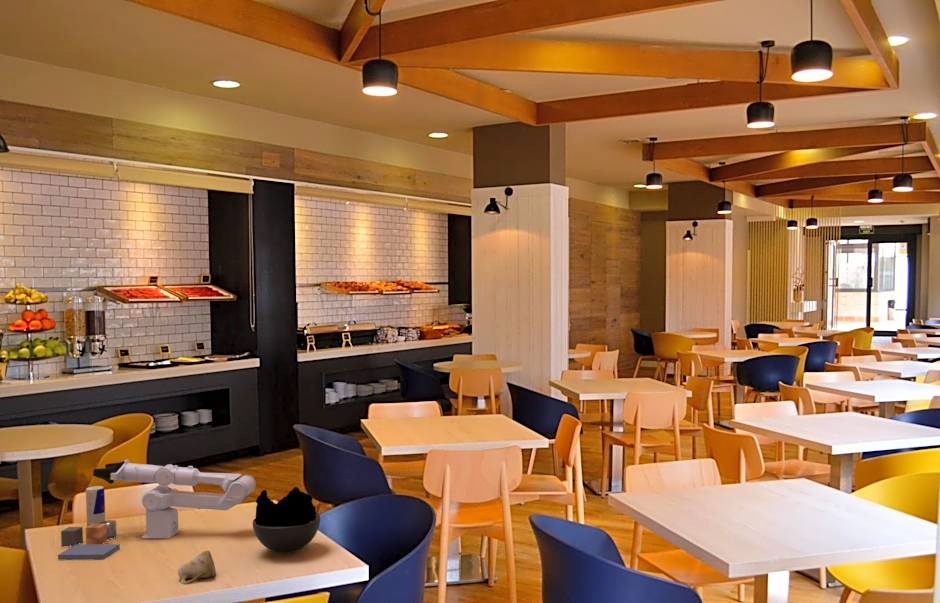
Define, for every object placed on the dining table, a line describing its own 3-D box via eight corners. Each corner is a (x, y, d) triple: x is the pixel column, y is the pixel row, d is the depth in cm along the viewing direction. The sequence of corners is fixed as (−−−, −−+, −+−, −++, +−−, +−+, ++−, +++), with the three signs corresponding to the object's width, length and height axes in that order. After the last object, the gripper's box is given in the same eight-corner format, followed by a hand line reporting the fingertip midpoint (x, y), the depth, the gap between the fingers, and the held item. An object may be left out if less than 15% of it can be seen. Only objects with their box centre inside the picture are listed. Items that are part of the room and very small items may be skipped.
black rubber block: (83, 542, 262) (82, 526, 262) (75, 546, 257) (74, 531, 257) (69, 542, 262) (68, 527, 262) (61, 546, 257) (61, 531, 257)
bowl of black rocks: (334, 545, 252) (332, 484, 251) (294, 565, 234) (292, 500, 233) (281, 538, 260) (280, 479, 260) (239, 557, 242) (237, 494, 242)
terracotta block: (107, 542, 261) (106, 523, 261) (100, 546, 257) (99, 527, 257) (93, 542, 261) (93, 523, 261) (86, 546, 257) (85, 527, 257)
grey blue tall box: (98, 535, 269) (97, 489, 269) (83, 534, 270) (82, 489, 270) (109, 530, 275) (107, 485, 274) (94, 529, 276) (93, 485, 276)
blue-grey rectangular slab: (119, 548, 254) (119, 544, 254) (103, 559, 244) (103, 554, 244) (76, 549, 254) (75, 544, 254) (58, 559, 244) (57, 554, 244)
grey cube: (119, 535, 269) (118, 520, 269) (111, 539, 264) (111, 524, 264) (104, 535, 269) (104, 520, 269) (96, 539, 264) (96, 524, 264)
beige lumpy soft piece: (175, 577, 227) (193, 542, 230) (208, 590, 228) (224, 556, 231) (171, 579, 220) (189, 543, 223) (204, 593, 221) (222, 557, 224)
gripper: (150, 456, 274) (111, 453, 275) (130, 465, 260) (89, 462, 261) (149, 477, 275) (110, 474, 275) (129, 487, 260) (87, 484, 261)
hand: (99, 469), depth 268 cm, fingers open, 7 cm apart
